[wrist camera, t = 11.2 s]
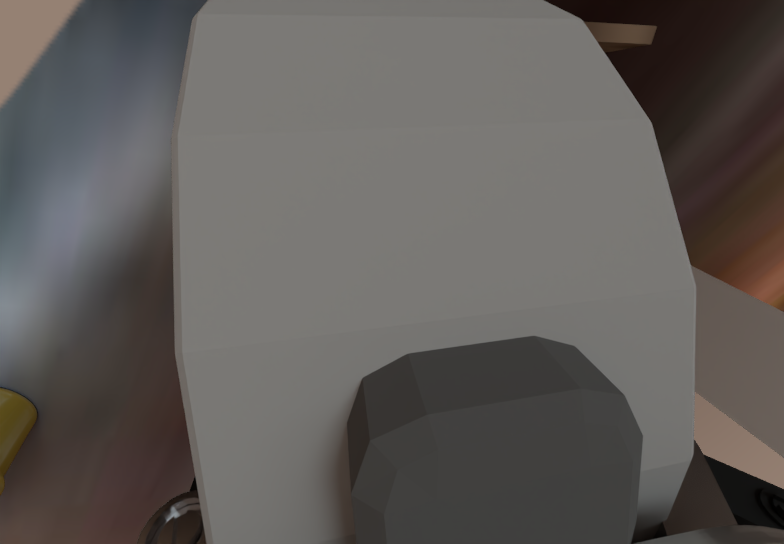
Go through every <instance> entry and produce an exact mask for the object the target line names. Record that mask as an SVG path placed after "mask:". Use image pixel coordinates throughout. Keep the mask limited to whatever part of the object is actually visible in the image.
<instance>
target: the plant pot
mask: <svg viewBox="0 0 784 544" xmlns="http://www.w3.org/2000/svg"><path fill="white" fill-rule="evenodd" d="M36 419H37V411H36V408H35V406H34V405H33V404H32V403H31V402H30V401H29V400H28V399H27V398H25V397H23V396H22V395H20V394H18V393H16V392H14V391H11V390H8V389H4V388H0V495H1V494H2V492H3V490H4V486H5V481H4V475H5V474H6V472H7V470H8V468H9V467H10V465H11V463H12V461H13V460H14V458H15V456H16V454H17V452H18V451H19V449H20V447H21V445H22V444H23V442H24V440H25V438H26V437H27V435H28V433H29V432H30V430H31V428H32V427H33V425H34V423H35V421H36Z"/></svg>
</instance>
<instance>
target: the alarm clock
mask: <svg viewBox="0 0 784 544" xmlns="http://www.w3.org/2000/svg"><path fill="white" fill-rule="evenodd" d="M171 164H172V220H173V276H174V331H175V357H176V363H177V369H178V375H179V381H180V387H181V393H182V399H183V405H184V411H185V417H186V423H187V429H188V435H189V441H190V447H191V453H192V459H193V465H194V471H195V477H196V483H197V489H198V495H199V501H200V507H201V513H202V519H203V525H204V531H205V537H206V543H207V544H635V543H639V542H643V541H647V540H652V539H653V538H654V536H655V534H656V532H657V530H658V528H659V527H660V525H661V523H662V521H663V520H667V518H668V516H669V513H670V511H671V509H672V506H673V504H674V501H675V499H676V496H677V494H678V492H679V489H680V487H681V484H682V482H683V479H684V477H685V475H686V472H687V470H688V467H689V465H690V462H691V460H692V457H693V454H694V398H695V396H694V395H695V336H696V283H695V280H694V276H693V273H692V269H691V265H690V262H689V258H688V254H687V251H686V247H685V243H684V240H683V236H682V232H681V229H680V225H679V221H678V218H677V214H676V210H675V207H674V203H673V199H672V196H671V192H670V188H669V185H668V181H667V177H666V174H665V170H664V166H663V163H662V159H661V155H660V152H659V148H658V144H657V141H656V137H655V134H654V130H653V126H652V123H651V121H650V120H649V118H648V117H647V115H646V114H645V112H644V111H643V109H642V108H641V106H640V105H639V103H638V102H637V100H636V99H635V97H634V96H633V94H632V93H631V91H630V90H629V88H628V87H627V85H626V84H625V82H624V81H623V79H622V78H621V77H620V75H619V74H618V72H617V71H616V69H615V68H614V66H613V65H612V63H611V62H610V60H609V59H608V57H607V56H606V54H605V53H604V51H603V50H602V48H601V47H600V45H599V44H598V42H597V41H596V39H595V38H594V36H593V35H592V33H591V32H590V30H589V29H588V27H587V26H586V25H585V23H584V22H583V21H582V20H581V19H580V18H578V17H576V16H574V15H572V14H570V13H568V12H566V11H564V10H562V9H560V8H558V7H556V6H554V5H552V4H550V3H548V2H546V1H544V0H208V1H207V2H206V3H205V4H204V6H203V7H202V8H201V9H200V10H199V12H198V13H197V14H196V15H195V16H194V18H193V19H192V24H191V30H190V36H189V41H188V47H187V53H186V58H185V64H184V70H183V75H182V81H181V87H180V92H179V98H178V104H177V109H176V115H175V121H174V126H173V132H172V138H171Z"/></svg>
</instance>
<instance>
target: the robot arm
mask: <svg viewBox="0 0 784 544" xmlns="http://www.w3.org/2000/svg"><path fill="white" fill-rule="evenodd" d="M136 544H207V543H206V537H205V531H204V525H203V519H202V513H201V507H200V501H199V495H198V489H197V483H196V477H195V478H194V481H193V483H192V486H191V489H190V491H189V492H185V493H182V494H180V495H178V496H176V497H174V498H172V499H171V500H169V501H168V502H167V503H165V504H164V505H163V506H161V507H160V508H159V509H158V510H157V511H156V512H155V513H154V514H153V515H152V517H151V518H150V519H149V520H148V522H147V523H146V525H145V526H144V528H143V529H142V531H141V533H140V535H139V538H138V541H137V543H136ZM635 544H784V489H782V488H780V487H777V486H775V485H773V484H770V483H768V482H766V481H763V480H761V479H759V478H757V477H754V476H752V475H750V474H747V473H745V472H743V471H740V470H738V469H736V468H733V467H731V466H729V465H726V464H724V463H722V462H719V461H717V460H715V459H713V458H710V457H708V456H706V455H703V453H702V451H701V449H700V447H699V446H698V444H697V443H696V441H695V440H694V454H693V457H692V460H691V462H690V465H689V467H688V470H687V472H686V475H685V477H684V479H683V482H682V484H681V487H680V489H679V492H678V494H677V496H676V499H675V501H674V504H673V506H672V509H671V511H670V513H669V516H668V518H667V520H663V521H662V523H661V525H660V527H659V528H658V530H657V532H656V534H655V536H654V538H653V539H652V540H647V541H643V542H639V543H635Z"/></svg>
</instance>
